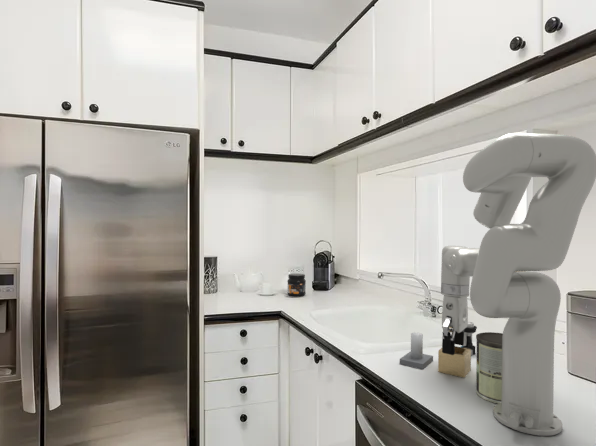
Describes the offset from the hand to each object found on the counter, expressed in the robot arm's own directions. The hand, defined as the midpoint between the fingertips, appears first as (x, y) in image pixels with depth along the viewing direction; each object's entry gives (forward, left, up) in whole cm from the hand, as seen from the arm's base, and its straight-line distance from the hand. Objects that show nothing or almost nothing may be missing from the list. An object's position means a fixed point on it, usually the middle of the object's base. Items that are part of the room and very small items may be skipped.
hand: (453, 348), depth 112 cm
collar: (-1, -1, -6) cm, 6 cm away
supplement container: (+64, +104, -6) cm, 122 cm away
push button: (+16, 0, -6) cm, 17 cm away
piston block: (-1, +10, -6) cm, 12 cm away
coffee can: (-11, -14, -6) cm, 18 cm away
